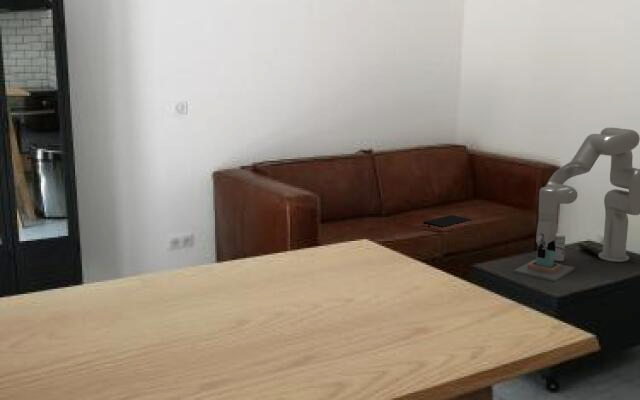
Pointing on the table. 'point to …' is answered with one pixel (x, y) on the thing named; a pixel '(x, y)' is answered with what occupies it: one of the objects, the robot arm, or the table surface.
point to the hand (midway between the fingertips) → (546, 254)
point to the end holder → (544, 271)
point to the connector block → (546, 259)
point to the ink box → (559, 247)
